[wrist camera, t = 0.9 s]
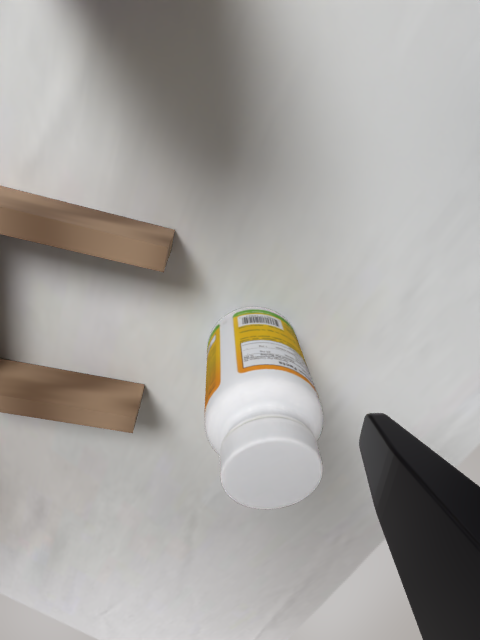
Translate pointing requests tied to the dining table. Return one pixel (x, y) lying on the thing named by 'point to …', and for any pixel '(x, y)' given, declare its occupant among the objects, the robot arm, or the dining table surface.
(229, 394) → the supplement bottle
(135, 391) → the bay
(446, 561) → the robot arm
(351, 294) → the dining table surface
